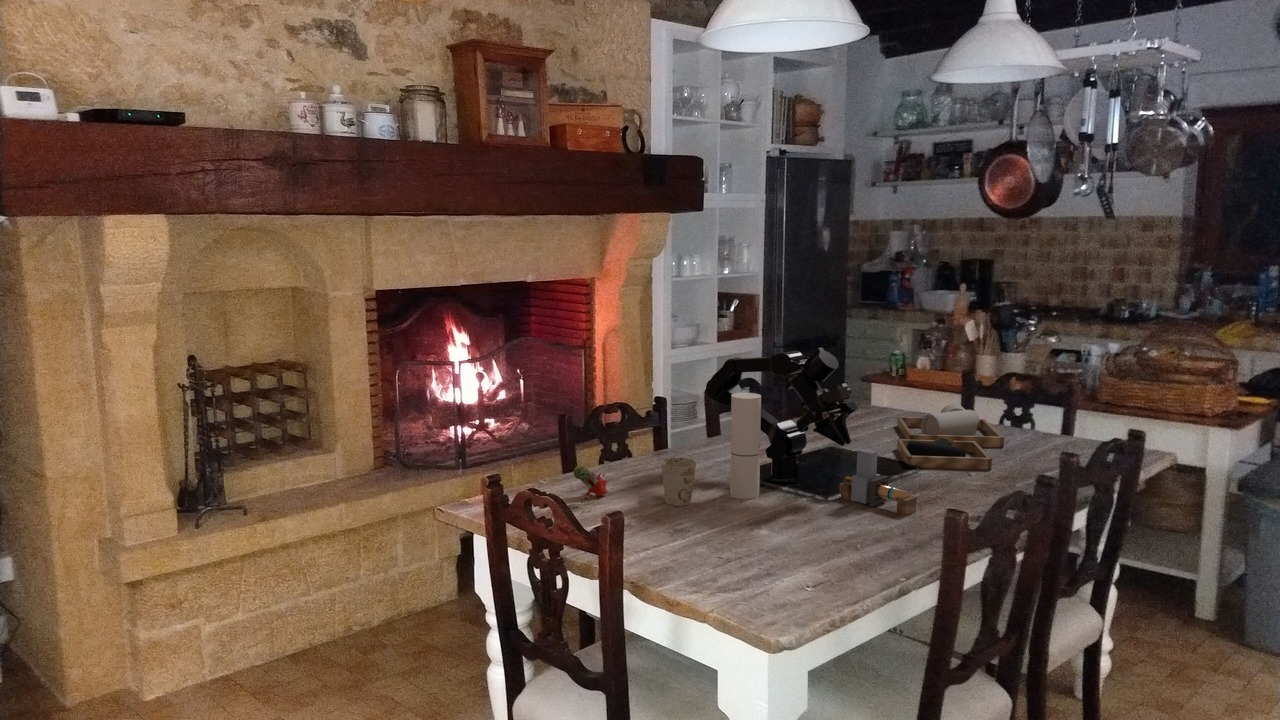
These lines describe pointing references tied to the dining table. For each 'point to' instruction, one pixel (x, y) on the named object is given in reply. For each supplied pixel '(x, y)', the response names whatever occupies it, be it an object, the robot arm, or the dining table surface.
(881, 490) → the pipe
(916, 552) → the dining table surface
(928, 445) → the pipe connector
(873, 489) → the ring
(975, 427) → the elbow connector
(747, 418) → the cylindrical container
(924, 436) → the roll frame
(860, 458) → the sleeve
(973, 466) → the wooden tray
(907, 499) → the cradle
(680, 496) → the beige paper cup
